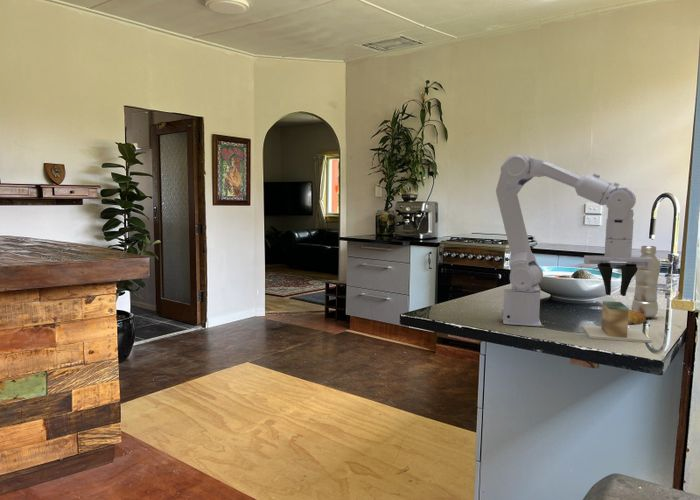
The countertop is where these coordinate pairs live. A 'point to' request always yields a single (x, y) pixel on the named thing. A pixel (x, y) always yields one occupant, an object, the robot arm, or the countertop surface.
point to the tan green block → (614, 319)
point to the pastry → (636, 317)
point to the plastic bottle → (647, 284)
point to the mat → (632, 335)
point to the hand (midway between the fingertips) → (615, 294)
